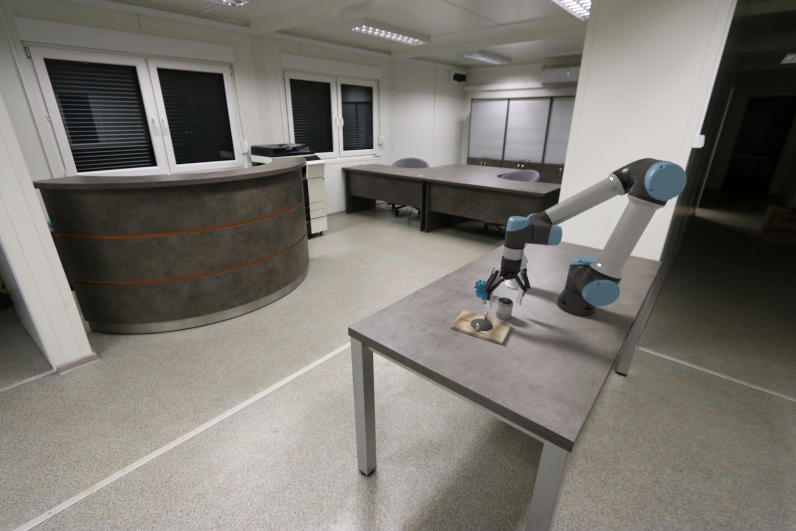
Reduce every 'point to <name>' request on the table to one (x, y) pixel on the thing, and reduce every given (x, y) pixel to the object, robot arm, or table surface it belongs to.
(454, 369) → the table surface
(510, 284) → the white statue
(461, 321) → the mount
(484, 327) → the seat
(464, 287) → the table surface
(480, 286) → the gear
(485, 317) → the pins
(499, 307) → the camera lens
